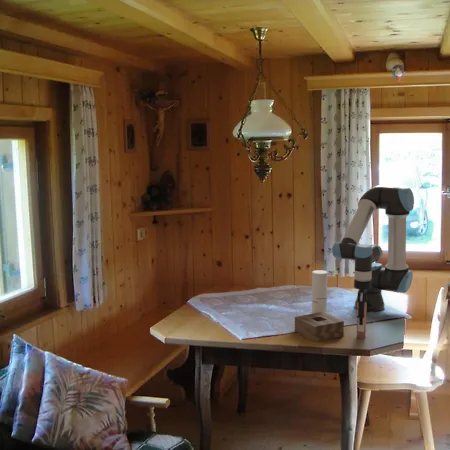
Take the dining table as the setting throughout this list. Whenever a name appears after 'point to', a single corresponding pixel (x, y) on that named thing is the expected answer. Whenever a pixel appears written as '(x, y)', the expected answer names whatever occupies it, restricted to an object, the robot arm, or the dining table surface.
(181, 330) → the dining table surface
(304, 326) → the socket block
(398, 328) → the dining table surface
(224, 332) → the dining table surface
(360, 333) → the peg
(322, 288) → the cylindrical container
